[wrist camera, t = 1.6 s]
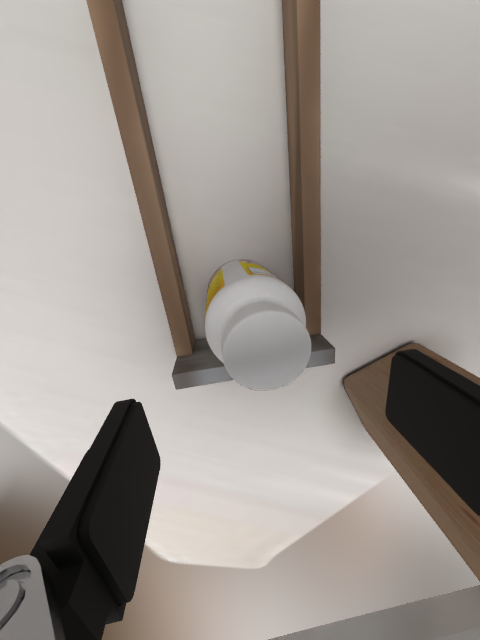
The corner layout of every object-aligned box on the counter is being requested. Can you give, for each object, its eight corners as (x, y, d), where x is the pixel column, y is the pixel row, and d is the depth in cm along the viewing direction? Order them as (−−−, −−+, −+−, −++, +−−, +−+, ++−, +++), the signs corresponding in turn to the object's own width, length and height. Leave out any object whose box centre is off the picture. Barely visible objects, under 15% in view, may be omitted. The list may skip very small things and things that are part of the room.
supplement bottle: (220, 330, 25) (225, 421, 13) (197, 271, 23) (179, 317, 11) (280, 311, 25) (338, 385, 13) (264, 249, 23) (318, 271, 11)
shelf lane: (302, -32, 16) (347, -166, 11) (309, 335, 27) (334, 363, 21) (95, -15, 16) (29, -147, 10) (184, 355, 26) (175, 389, 20)
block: (337, 377, 29) (553, 639, 11) (414, 336, 28) (800, 546, 10) (364, 428, 33) (560, 692, 14) (432, 394, 32) (741, 628, 13)
